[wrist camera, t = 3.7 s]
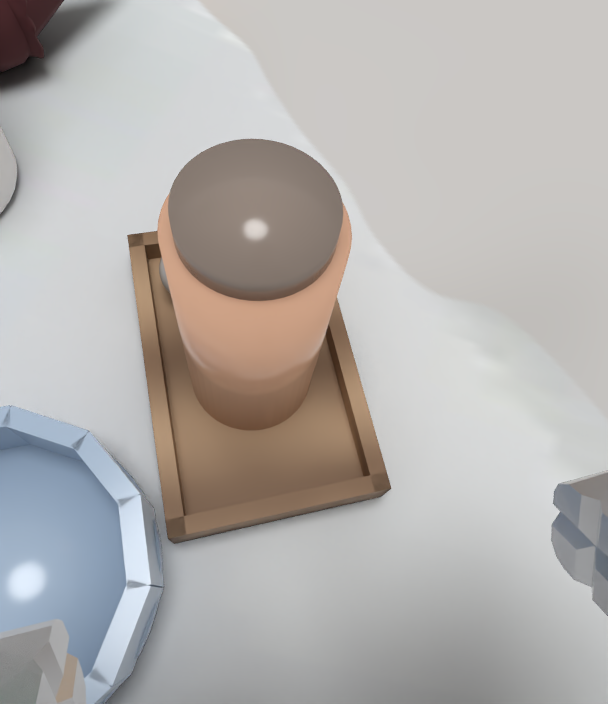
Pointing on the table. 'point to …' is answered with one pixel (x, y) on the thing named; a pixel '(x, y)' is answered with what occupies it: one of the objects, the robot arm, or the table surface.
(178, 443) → the tray
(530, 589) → the table surface
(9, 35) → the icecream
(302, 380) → the jar
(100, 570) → the bowl
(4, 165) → the milk bottle
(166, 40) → the table surface
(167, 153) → the table surface
